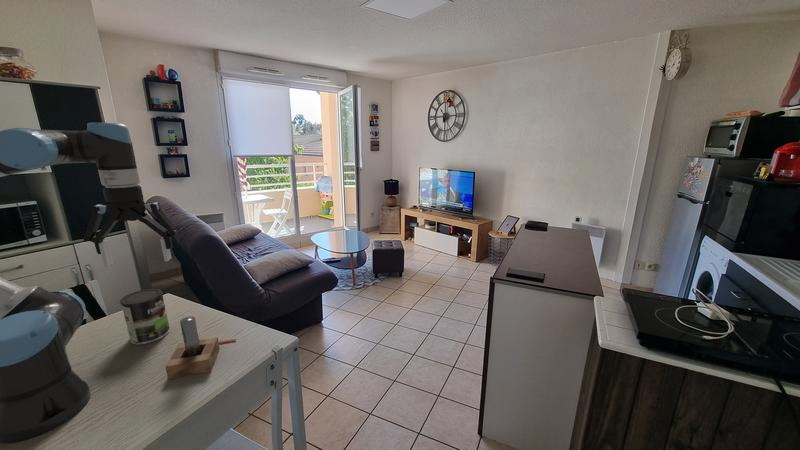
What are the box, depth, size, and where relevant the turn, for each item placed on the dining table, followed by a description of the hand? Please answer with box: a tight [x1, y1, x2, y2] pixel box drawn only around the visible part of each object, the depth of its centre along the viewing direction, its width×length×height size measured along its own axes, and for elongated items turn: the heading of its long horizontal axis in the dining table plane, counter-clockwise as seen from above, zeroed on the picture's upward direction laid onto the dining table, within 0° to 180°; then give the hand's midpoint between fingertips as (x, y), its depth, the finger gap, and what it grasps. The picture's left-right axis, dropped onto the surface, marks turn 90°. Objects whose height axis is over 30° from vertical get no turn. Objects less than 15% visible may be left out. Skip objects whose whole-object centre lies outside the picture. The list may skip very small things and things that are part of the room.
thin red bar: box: [218, 338, 237, 345], centre depth 96 cm, size 14×1×1 cm, turn 107°
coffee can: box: [119, 288, 171, 346], centre depth 98 cm, size 10×10×14 cm
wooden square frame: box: [165, 336, 220, 380], centre depth 87 cm, size 10×10×4 cm
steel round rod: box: [179, 315, 201, 357], centre depth 86 cm, size 3×3×14 cm
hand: (139, 262), depth 85 cm, fingers open, 13 cm apart
